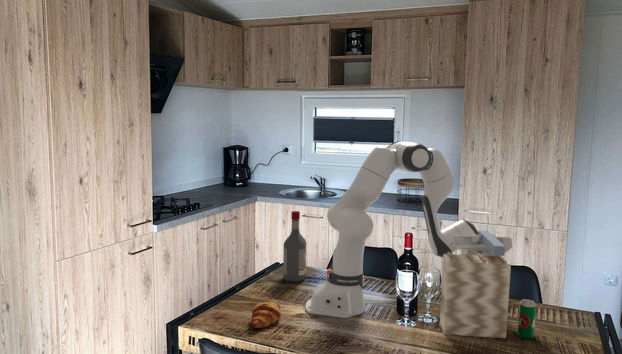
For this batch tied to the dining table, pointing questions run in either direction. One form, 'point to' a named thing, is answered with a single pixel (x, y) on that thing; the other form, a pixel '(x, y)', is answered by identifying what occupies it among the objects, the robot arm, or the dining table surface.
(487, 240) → the beam
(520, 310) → the soda can
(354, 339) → the dining table surface
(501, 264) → the zigzag patterned box
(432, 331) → the dining table surface
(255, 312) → the croissant
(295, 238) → the liquor
